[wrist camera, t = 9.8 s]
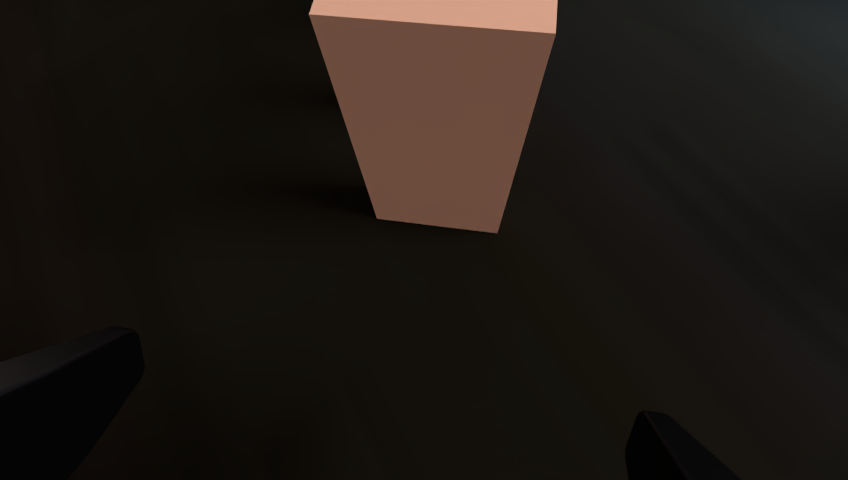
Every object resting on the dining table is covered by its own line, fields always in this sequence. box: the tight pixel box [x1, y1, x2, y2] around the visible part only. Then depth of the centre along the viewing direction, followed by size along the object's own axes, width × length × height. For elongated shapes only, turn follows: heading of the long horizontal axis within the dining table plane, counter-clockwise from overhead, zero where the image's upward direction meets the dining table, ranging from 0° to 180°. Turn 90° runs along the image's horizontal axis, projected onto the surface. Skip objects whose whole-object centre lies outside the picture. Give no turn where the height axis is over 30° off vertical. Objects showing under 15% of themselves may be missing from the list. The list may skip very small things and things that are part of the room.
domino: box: [309, 0, 557, 233], centre depth 14 cm, size 2×5×10 cm, turn 81°
